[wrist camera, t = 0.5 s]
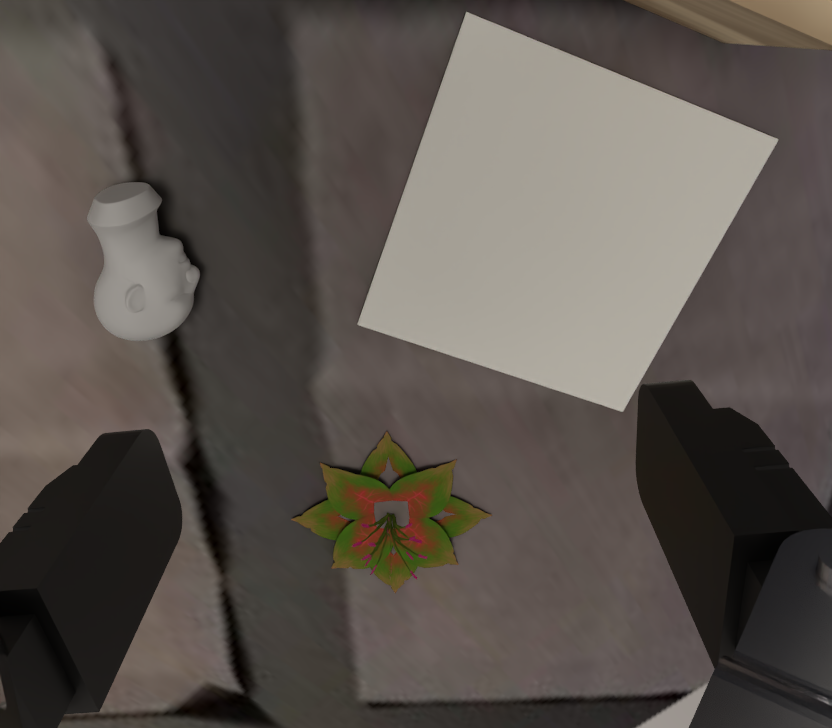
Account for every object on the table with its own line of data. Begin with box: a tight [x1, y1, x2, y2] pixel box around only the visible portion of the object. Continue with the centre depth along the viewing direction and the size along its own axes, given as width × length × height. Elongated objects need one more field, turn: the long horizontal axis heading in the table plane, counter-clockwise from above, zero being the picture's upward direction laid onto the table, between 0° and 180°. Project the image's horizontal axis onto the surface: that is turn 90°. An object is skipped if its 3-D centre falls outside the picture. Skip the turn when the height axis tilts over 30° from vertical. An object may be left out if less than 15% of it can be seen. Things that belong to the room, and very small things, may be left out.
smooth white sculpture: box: [87, 182, 200, 341], centre depth 34 cm, size 4×8×5 cm
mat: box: [357, 12, 779, 412], centre depth 35 cm, size 16×16×1 cm
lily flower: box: [291, 431, 492, 593], centre depth 42 cm, size 12×12×5 cm
